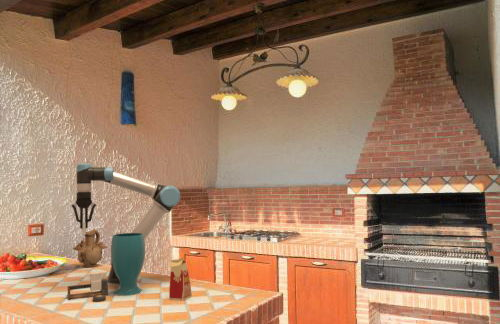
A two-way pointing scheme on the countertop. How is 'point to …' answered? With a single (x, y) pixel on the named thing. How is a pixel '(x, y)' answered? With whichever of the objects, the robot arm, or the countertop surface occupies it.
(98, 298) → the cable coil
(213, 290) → the countertop surface
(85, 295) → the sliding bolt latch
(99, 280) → the sleeve
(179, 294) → the milk carton
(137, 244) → the vase
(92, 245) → the ceramic vessel
